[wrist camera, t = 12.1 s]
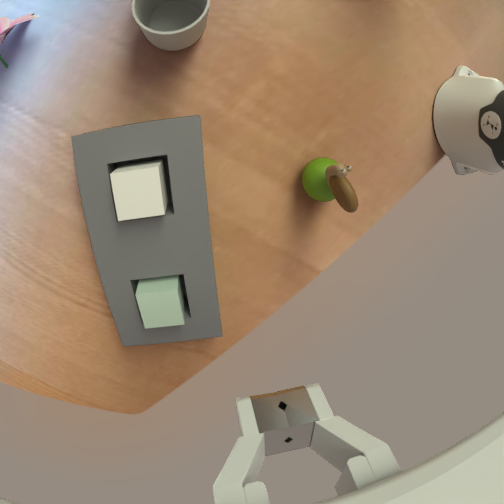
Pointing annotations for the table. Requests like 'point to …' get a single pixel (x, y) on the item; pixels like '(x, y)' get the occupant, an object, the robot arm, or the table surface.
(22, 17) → the lily
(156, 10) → the cup
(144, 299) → the pale green cube
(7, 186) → the table surface
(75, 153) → the key console
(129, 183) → the white key
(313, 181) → the snail figurine
